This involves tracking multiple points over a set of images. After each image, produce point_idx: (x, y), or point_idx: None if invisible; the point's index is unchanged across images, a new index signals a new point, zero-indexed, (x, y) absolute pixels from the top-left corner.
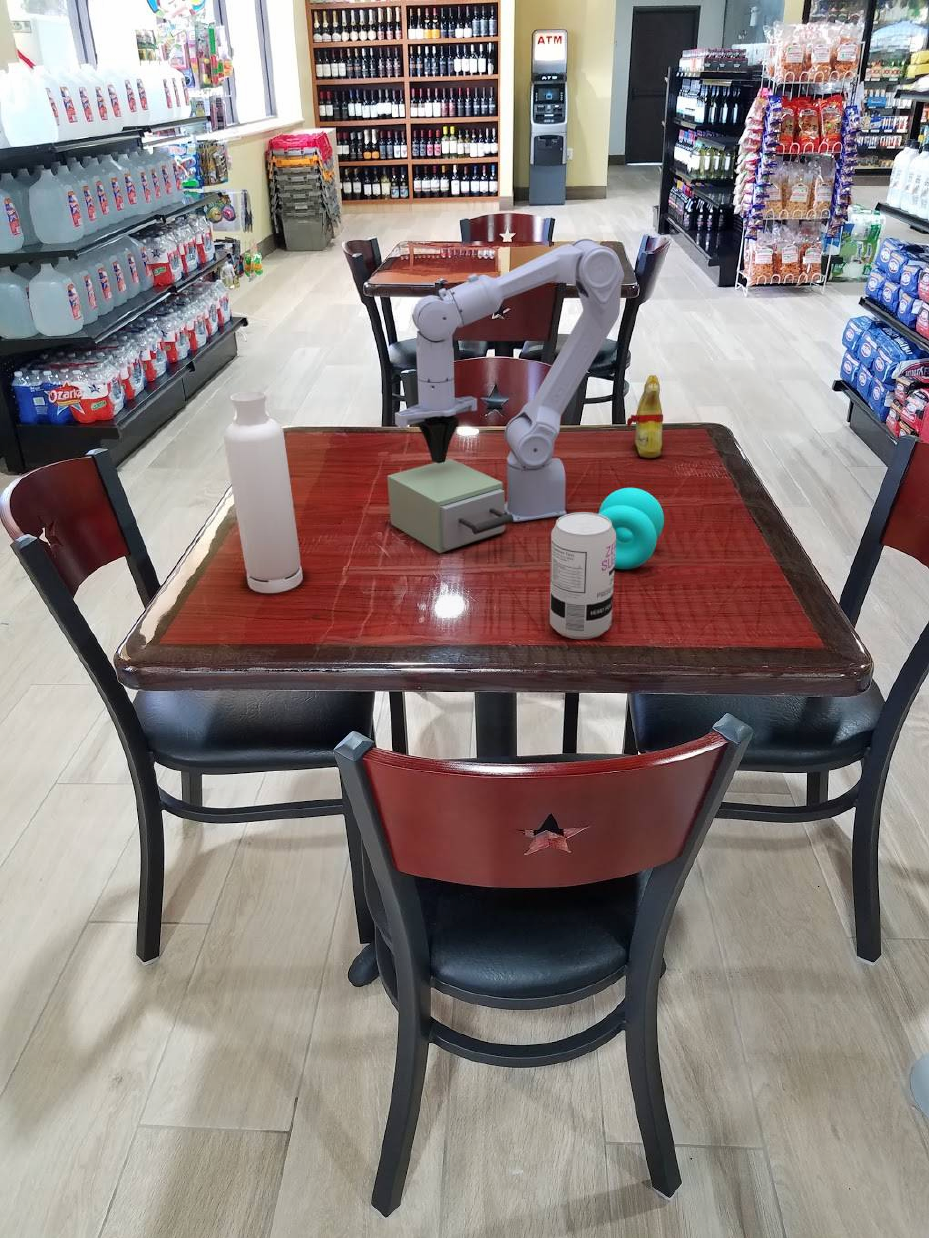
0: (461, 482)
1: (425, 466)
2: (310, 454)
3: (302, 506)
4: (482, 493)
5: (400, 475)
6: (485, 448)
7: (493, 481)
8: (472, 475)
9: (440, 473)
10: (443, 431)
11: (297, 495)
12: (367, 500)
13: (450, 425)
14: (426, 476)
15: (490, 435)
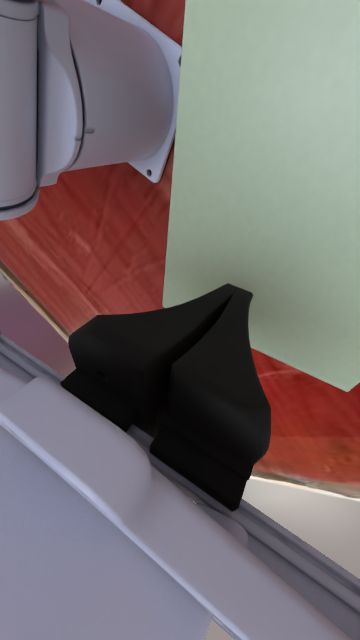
0: (297, 142)
1: None
2: None
3: (335, 439)
4: None
5: (329, 364)
6: (81, 317)
7: (207, 6)
8: (209, 169)
9: (254, 276)
10: (196, 353)
11: (301, 446)
12: (268, 376)
13: (141, 344)
14: (300, 299)
15: (66, 327)
